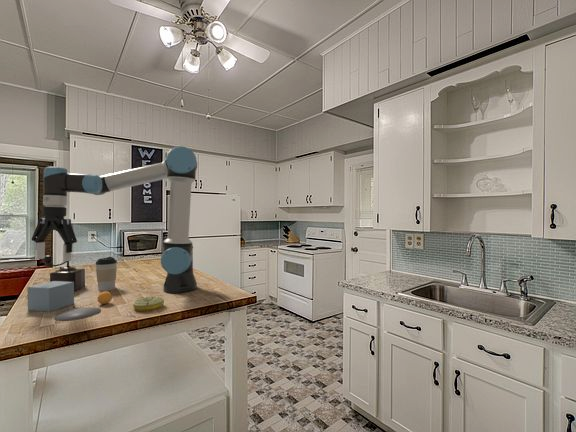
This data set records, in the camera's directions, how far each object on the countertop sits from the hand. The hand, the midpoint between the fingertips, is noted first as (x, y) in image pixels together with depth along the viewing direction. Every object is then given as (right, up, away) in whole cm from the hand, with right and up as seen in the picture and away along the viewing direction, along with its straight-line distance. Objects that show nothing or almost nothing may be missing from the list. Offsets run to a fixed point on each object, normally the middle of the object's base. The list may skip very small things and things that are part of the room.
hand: (53, 260), depth 120 cm
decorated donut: (+39, -18, -4) cm, 44 cm away
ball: (+19, -16, +2) cm, 25 cm away
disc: (+17, -18, -10) cm, 27 cm away
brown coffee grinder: (-12, -18, +22) cm, 31 cm away
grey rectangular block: (0, -18, -1) cm, 18 cm away
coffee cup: (+5, -18, +26) cm, 32 cm away
